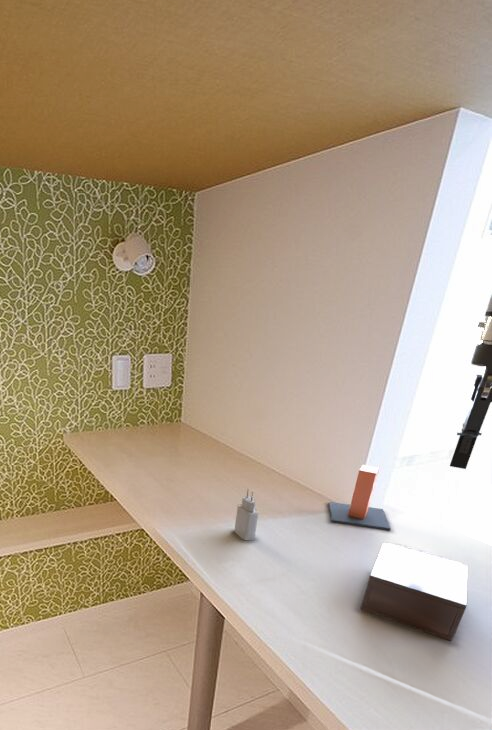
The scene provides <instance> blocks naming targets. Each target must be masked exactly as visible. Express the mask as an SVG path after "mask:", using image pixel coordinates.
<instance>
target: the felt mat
mask: <svg viewBox="0 0 492 730" xmlns="http://www.w3.org/2000/svg"><path fill="white" fill-rule="evenodd" d="M350 505H351V504H349V503H341V502H333V501H328V508H329V514H330V520H331V523H338V524H344V525H352V526H359V527H366V528H371V529H379V530H386V531H391V529H392V528H391V525H390V523H389V520H388V518H387V516H386V514H385V511H384V509H383V508H377V507H371V506H369V509H368V513H367V515H366V517H365V519H360V518H356V517H352V516H348V513H349V509H350Z"/></svg>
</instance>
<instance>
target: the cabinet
mask: <svg viewBox="0 0 492 730" xmlns="http://www.w3.org/2000/svg"><path fill="white" fill-rule="evenodd" d="M381 544H382V545H381V547H380V549H379V552H378V555H377V557H376V560H375V562H374V564H373V567H372V569H371V572H370V575H369V578H368V581H367V585H366V588H365V591H364V593H363V594H364V595H363V599H362V602H361V604H360V609H361V610H363V611H366V612H368V613H371V614H374V615H376V616H380V617H382V618H384V619H385V618H386V619H389V620H391V621H394V622H397V623H400V624H402V625H405V626H408V627H411V628H413V629H416V630H419V631H422V632H425V633H427V634H431V635H434V636H436V637H439V638H442V639H445V640H448V641H450V642H452V641H453V639H454V637H455V635H456V633H457V630H458V628H459V625H460V623H461V620H462V618H463V616H464V613H465V611H466V608H467V607H468V587H469V585H468V583H469V565H465V564H463V565H462V564H458V563H455V562H451V561H448V560H449V559H448V560H444V559H440V558H437V557H433V556H429V555H426V554H422V553H418V552H415V551H411V550H407V549H404V548H400V547H396V546H393V545H394V544H393V545H389V544H387V542H383V543H381Z"/></svg>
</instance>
